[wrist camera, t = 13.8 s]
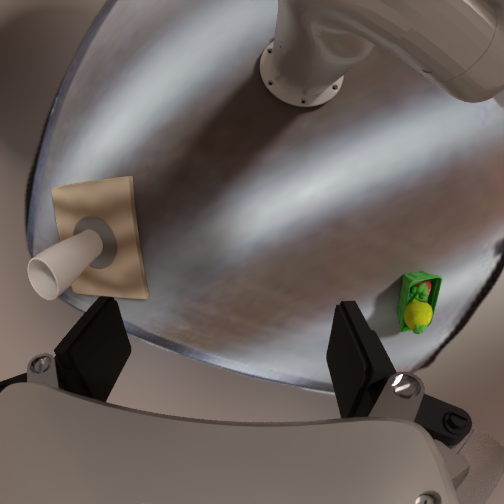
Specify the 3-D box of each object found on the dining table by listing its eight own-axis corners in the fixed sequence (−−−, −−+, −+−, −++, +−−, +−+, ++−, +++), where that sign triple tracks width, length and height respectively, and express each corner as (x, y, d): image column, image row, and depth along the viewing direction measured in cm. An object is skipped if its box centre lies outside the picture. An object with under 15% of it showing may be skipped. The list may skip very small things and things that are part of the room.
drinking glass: (96, 218, 41) (41, 249, 27) (113, 252, 43) (66, 294, 29) (73, 233, 42) (20, 266, 28) (89, 264, 44) (43, 306, 30)
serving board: (56, 187, 40) (50, 188, 39) (132, 175, 40) (127, 177, 38) (77, 289, 48) (72, 293, 47) (149, 295, 48) (145, 300, 46)
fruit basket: (420, 312, 48) (444, 344, 38) (385, 320, 49) (406, 356, 38) (429, 264, 44) (461, 292, 34) (392, 269, 45) (421, 301, 34)
